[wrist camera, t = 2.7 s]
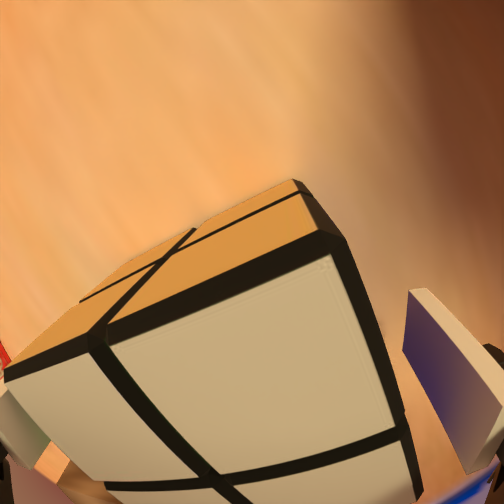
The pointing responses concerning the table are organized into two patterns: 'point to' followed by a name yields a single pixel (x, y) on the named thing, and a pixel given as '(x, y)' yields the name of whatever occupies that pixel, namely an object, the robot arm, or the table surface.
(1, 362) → the stack of blocks
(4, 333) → the table surface
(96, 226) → the table surface
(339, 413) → the puzzle cube
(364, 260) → the table surface
